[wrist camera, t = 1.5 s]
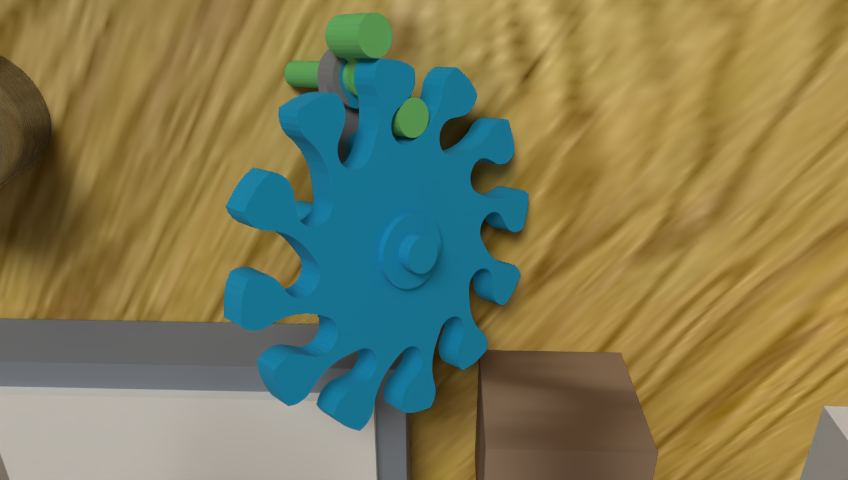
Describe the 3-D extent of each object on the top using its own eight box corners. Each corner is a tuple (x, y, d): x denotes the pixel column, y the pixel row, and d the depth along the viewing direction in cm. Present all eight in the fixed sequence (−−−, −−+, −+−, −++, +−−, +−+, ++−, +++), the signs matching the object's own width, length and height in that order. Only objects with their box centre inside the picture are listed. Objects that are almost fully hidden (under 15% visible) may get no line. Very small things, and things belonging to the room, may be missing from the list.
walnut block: (474, 454, 27) (479, 565, 23) (479, 348, 25) (485, 449, 20) (604, 457, 27) (635, 570, 23) (620, 351, 25) (658, 453, 20)
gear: (545, 357, 23) (282, 509, 17) (423, 309, 27) (176, 416, 21) (542, 1, 19) (208, 23, 13) (402, 10, 24) (99, 30, 17)
